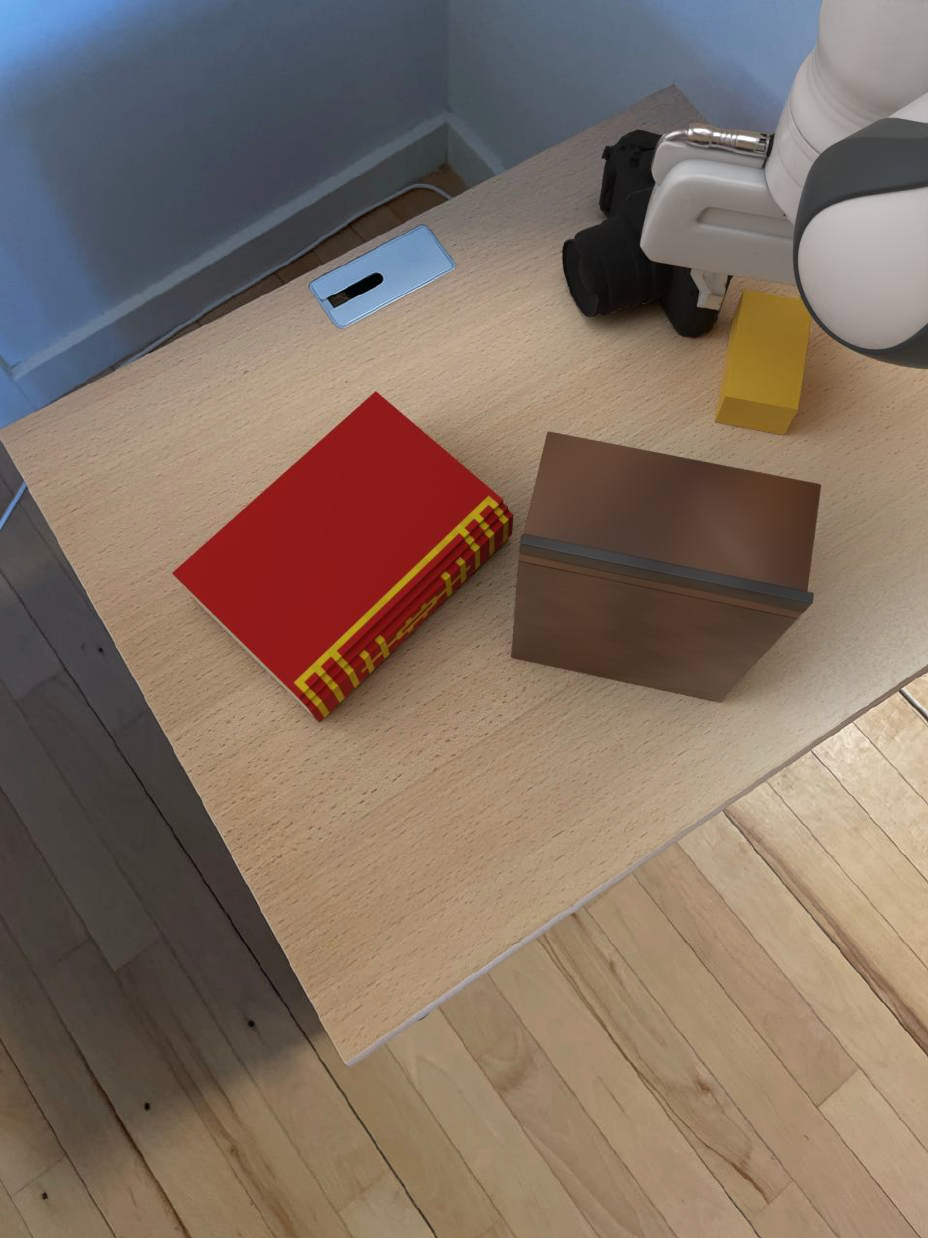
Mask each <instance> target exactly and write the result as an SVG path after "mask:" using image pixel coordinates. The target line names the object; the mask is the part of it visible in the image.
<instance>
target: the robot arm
mask: <svg viewBox="0 0 928 1238" xmlns="http://www.w3.org/2000/svg"><path fill="white" fill-rule="evenodd" d="M816 36H817V38H816V42H815V45H814V47H813V48H812V50H811V51H810V52H809V54H808V55H807V56H806V57H805V58H804V59H803V61H802V63H801V65H800V67H799V68H798V70H797V73H796V75H795V77H794V78H793V82H792V84H791V87H790V90H789V92H788V94H787V98H786V101H785V103H784V106H783V108H782V111H781V114H780V117H779V119H778V123H777V125H776V128H775V132H773V133H772V134H771V133H770V134H769V133H764V132H758V131H751V130H746V129H729V128H728V129H727V128H721V127H715V125H713V124H709V123H704V122H691V123H689V124H688V128H678V129H675V130H672V131H669V132H667V133H664V134H662V135H663V136H662V137H661V138H660V140H659V141H658V143H657V144H656V147H655V151H654V155H653V160H652V164H651V171H652V175H653V178H654V180H655V182H656V183H655V186H654V188H653V191H652V194H651V197H650V200H649V204H648V208H647V212H646V217H645V221H644V225H643V230H642V235H641V241H640V247H641V249H642V250H643V252H644V253H645V254H646V256H647V257H648V258H649V259H650V260H652V261H655V262H659V263H665V264H671V265H677V266H682V267H688V268H691V276H692V278H693V280H694V282H695V284H696V285H697V287H698V289H699V291H700V292H699V297H698V303H697V307H701V308H709V309H715V310H719V309H720V306H721V303H722V301H723V298H724V295H725V289H726V288H725V286H726V283H727V277H728V275H732V276H733V277H739V278H743V279H748V280H749V279H750V280H756V281H762V282H767V283H772V284H779V285H784V286H788V287H795V288H797V291H798V293H799V296H800V299H802V301H803V303H804V305H805V307H806V308H807V310H808V312H809V313H810V315H811V316H812V318H811V319H813V321H815V323H816V324H817V325H818V327H819V328H820V329H821V330H822V331H823V332H824V333H825V334H827V335H828V336H829V337H830V338H832V340H834V341H836V342H837V343H839V344H840V345H842V346H843V347H845V348H847V349H849V350H850V351H853V352H855V353H857V354H859V355H861V356H865V357H867V358H869V359H872V360H875V361H878V362H882V363H886V364H890V365H894V366H899V367H904V368H911V369H916V370H928V0H822V3H821V6H820V10H819V14H818V20H817V35H816ZM725 296H726V295H725ZM724 299H725V298H724ZM723 302H724V301H723ZM721 307H722V306H721ZM720 310H721V309H720Z"/></svg>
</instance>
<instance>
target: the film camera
mask: <svg viewBox="0 0 928 1238" xmlns="http://www.w3.org/2000/svg"><path fill="white" fill-rule="evenodd" d="M663 135H664V134H659V133H654V132H652V131H648V130H644V129H639V128H637V129H635V130H633V131H629V132H628V133H625V134H623V135H622V136H621V137H620V138H619V140H617V142H616V143H615V144H614V145H605V147H604V149H603V153H602V154H601V158H600V159H603V160H604V162H605V163H604V166H603V173H602V179H601V187H600V188H601V189H600V194H599V200H598V206H599V210H600V211H601V212H603V214H604V216H605V217H606V219H604V220H603V221H601V223H598V224H595V225H593V226H589V227H586V228H584V229H581V230H580V231H578V232H577V233H576V234H574V237H573V238H569V239H566V240H565V241H564V242H563V245H562V249H561V254H562V256H561V260H562V261H561V262H562V263H561V264H562V271H563V274H564V278H565V281H566V285H567V288H568V290H569V294H570V296H571V298H572V299H573V302H574V303H575V305H576V307H577V308H578V310H579V311H580V312H581V314H582V315H583V316H585V317H586V318H594V317H596V316H604V317H605V316H608V315H611V314H614V313H617V312H618V311H620V310H623V309H626V308H632V307H635V306H637V305H640V304H641V305H647V304H648V303H651V302H657V303H658V305H659V307H660V308H661V310H662V311H663V313H664V314H665V316H666V318H667V319H668V321H669V322H670V324H671V326H672V328H673V329H674V331H675V332H676V333H677V334H679V335H680V336H681V337H684V338H685V337H686V338H694V339H695V338H699V337H701V336H703V335H705V334H708V333H709V332H711V330H712V328H713V327H714V326H715V324H716V323H717V322H718V321H719V315H720V313H721V309H722V306H723V304H724V301H725V298H726V295H727V292H728V291H729V290H728V289H729V287H730V283H731V281H732V279H733V277H734V276H732V275H728V277H727V283H726V286H725V288H726V289H725V295H724V298H723V301H722V303H721V306H720V309H719V310H715V309H709V308H701V307H697V303H698V297H699V292H700V291H699V289H698V287H697V285H696V284H695V282H694V280H693V278H692V276H691V268H688V267H682V266H677V265H671V264H665V263H659V262H655V261H652V260H650V259H649V258H648V257H647V256H646V254H645V253H644V252H643V250H642V249H641V247H640V241H641V235H642V230H643V225H644V221H645V217H646V212H647V208H648V204H649V200H650V197H651V194H652V191H653V188H654V186H655V183H656V182H655V180H654V178H653V175H652V171H651V164H652V160H653V155H654V151H655V147H656V144H657V143H658V141H659V140H660V138H661V137H662V136H663Z"/></svg>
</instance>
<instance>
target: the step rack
mask: <svg viewBox="0 0 928 1238" xmlns="http://www.w3.org/2000/svg"><path fill="white" fill-rule="evenodd" d="M517 562H518V563H517V572H516V573H517V574H516V575H517V576H516V587H515V588H516V589H515V600H514V601H515V602H514V613H513V625H512V627H513V628H512V639H511V640H512V641H511V651H510V654H511V655H510V658H511V659H517V660H521V661H524V662H530V663H534V664H537V665H538V664H539V665H542V666H543V665H544V666H548V667H553V668H556V669H557V668H558V669H562V670H566V671H571V672H576V673H580V674H584V675H585V674H586V675H589V676H595V677H599V678H603V679H607V680H612V681H617V682H622V683H627V684H631V685H635V686H641V687H644V688H649V689H654V690H659V691H664V692H667V693H668V692H669V693H673V694H677V695H681V696H682V695H683V696H686V697H691V698H696V699H700V700H705V701H710V702H715V703H719V704H721V703H722V702H723V701H724V700H725V699H726V698H727V697H728V696H729V695H730V694H731V693H732V691H733V690H735V688H736V687H737V686H738V685H739V684H740V683H741V682H742V680H744V678H746V676H747V675H748V674H749V673H750V672H751V671H752V670H753V669H754V668H755V666H756V665H757V664H758V663H759V662H760V661H761V660H762V659H763V658H764V657H765V655H767V654H768V653H769V651H770V650H771V649H772V648H773V647H774V646H775V645H776V644H777V643H778V642H779V641H780V639H781V638H782V637H783V636H784V635H785V634H786V633H787V632H788V631H789V630H790V629H791V628H792V626H793V625H794V624H796V622H797V621H798V620H799V618H795V617H790V616H785V615H780V614H775V613H770V612H766V611H761V610H756V609H751V608H746V607H741V606H737V605H732V604H727V603H722V602H717V601H712V600H708V599H703V598H698V597H693V596H688V595H683V594H679V593H674V592H669V591H664V590H659V589H654V588H650V587H645V586H640V585H635V584H630V583H625V582H621V581H616V580H611V579H606V578H601V577H596V576H592V575H587V574H582V573H577V572H572V571H567V570H563V569H558V568H553V567H548V566H543V565H538V564H534V563H529V562H524V561H520V560H519V559H518V561H517Z"/></svg>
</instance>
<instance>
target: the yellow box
mask: <svg viewBox="0 0 928 1238" xmlns="http://www.w3.org/2000/svg"><path fill="white" fill-rule="evenodd" d="M812 319H813V318H812V316H811V315H810V313H809V312H808V310H807V308H806V307H805V305H804V303H803V301H802V298H797V297H792V296H787V295H781V294H780V295H779V294H775V293H768V292H764V291H763V292H762V291H757V290H752V289H746V288H743V289H742V291H741V295H740V298H739V300H738V303H737V305H736V308H735V310H734V313H733V315H732V318H731V324H730V328H729V335H728V341H727V347H726V352H725V356H724V357H725V358H724V363H723V369H722V376H721V381H720V386H719V387H720V388H719V393H718V399H717V405H716V410H715V416H714V423H718V424H724V425H729V426H733V427H734V426H735V427H738V428H745V429H749V430H755V431H760V432H765V433H771V434H776V435H781V436H784V435H785V434H786V433H787V430H788V429H789V427H790V425H791V423H792V421H793V420H794V418H795V416H796V415H797V413H798V411H799V409H800V401H801V396H802V395H801V394H802V387H803V381H804V373H805V366H806V361H807V360H806V358H807V353H808V346H809V345H808V344H809V339H810V331H811V324H812Z"/></svg>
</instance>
